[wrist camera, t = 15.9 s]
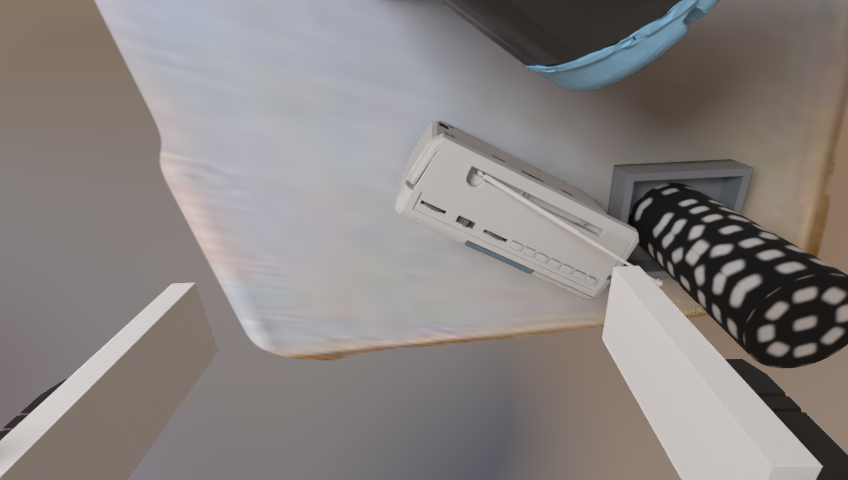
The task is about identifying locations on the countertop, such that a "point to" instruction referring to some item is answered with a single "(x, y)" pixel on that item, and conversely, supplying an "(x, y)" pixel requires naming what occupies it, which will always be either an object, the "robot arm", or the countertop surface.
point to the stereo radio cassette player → (512, 212)
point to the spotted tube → (745, 276)
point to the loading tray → (708, 177)
